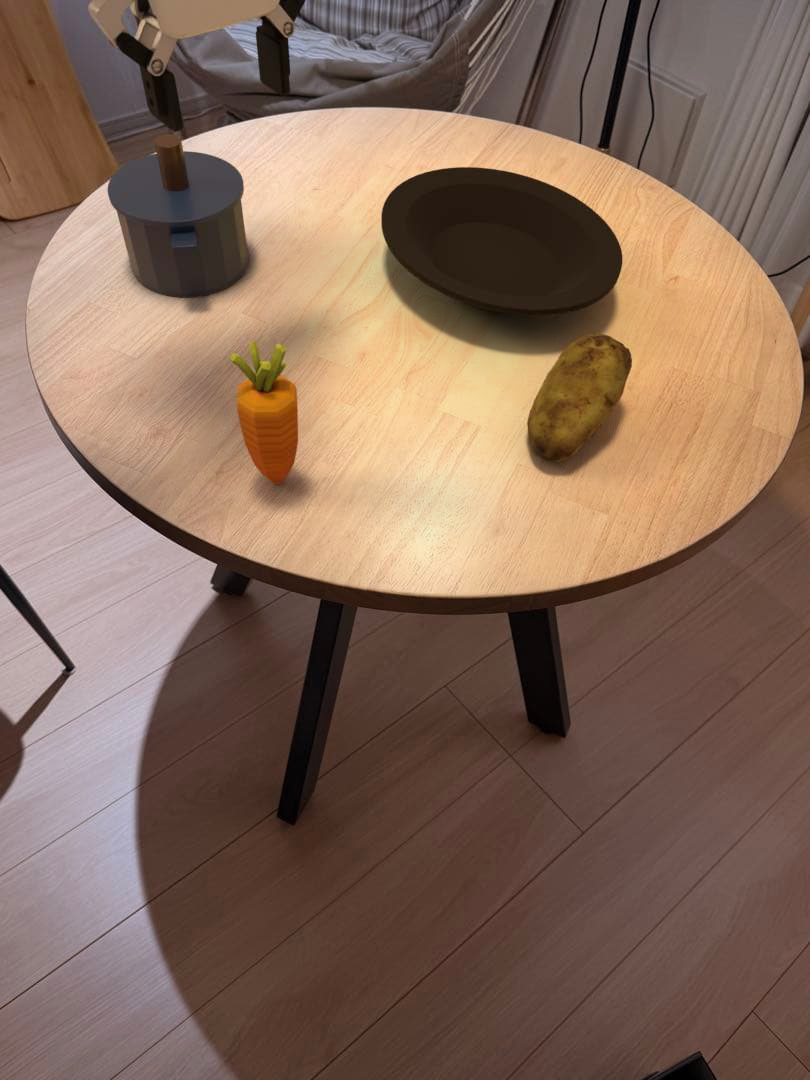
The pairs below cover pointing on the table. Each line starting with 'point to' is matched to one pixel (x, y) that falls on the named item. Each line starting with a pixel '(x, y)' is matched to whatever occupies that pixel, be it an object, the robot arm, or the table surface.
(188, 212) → the lid
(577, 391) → the potato
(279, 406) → the carrot
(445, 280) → the plate
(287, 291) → the table surface
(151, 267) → the pot
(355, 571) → the table surface
